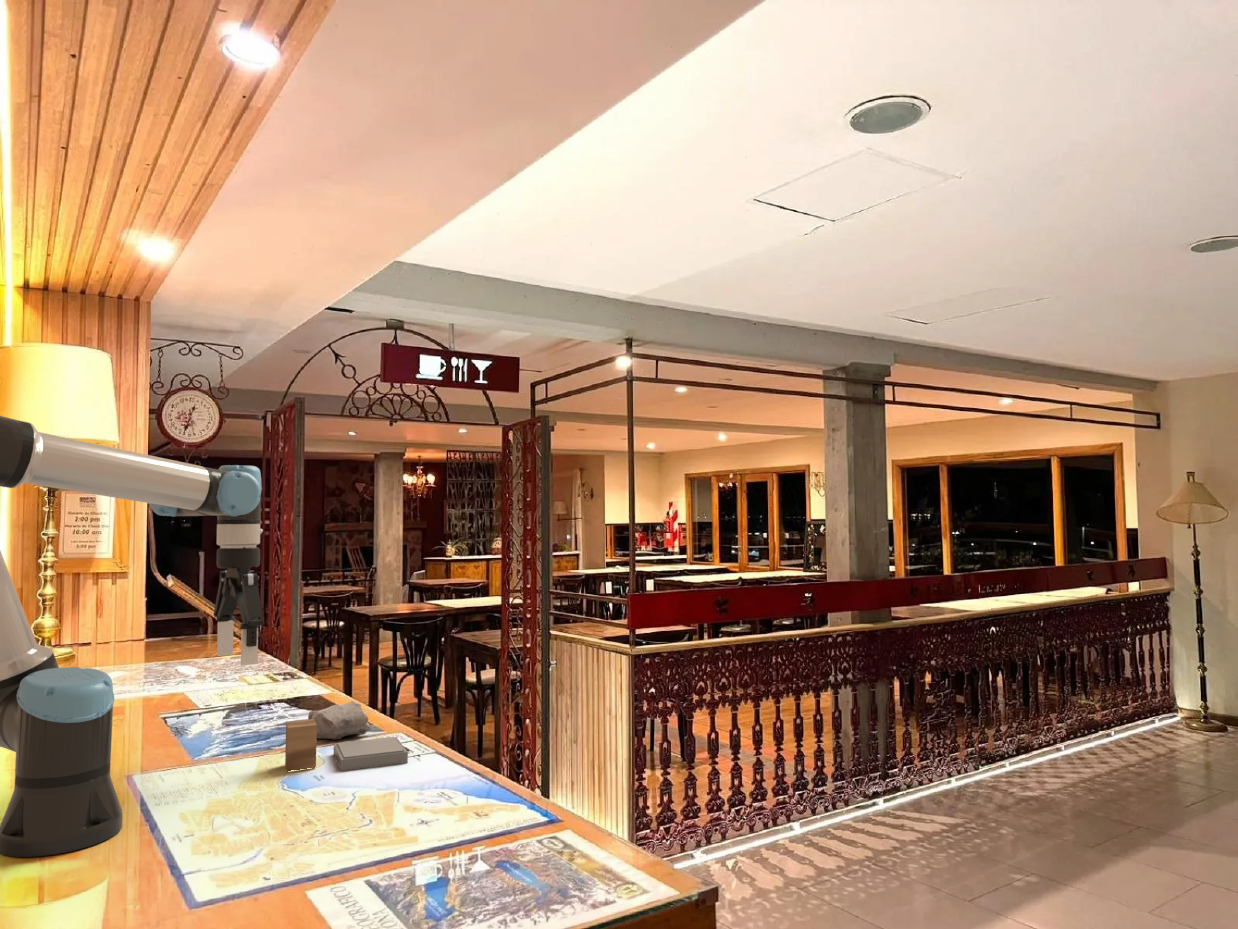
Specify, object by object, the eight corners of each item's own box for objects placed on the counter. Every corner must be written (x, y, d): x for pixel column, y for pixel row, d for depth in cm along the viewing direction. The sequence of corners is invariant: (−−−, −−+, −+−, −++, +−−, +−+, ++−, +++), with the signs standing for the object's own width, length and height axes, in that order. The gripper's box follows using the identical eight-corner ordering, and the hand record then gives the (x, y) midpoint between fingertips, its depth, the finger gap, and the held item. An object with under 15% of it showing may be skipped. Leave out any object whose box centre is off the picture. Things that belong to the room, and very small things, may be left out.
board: (407, 763, 158) (407, 750, 158) (340, 771, 153) (341, 758, 153) (396, 747, 169) (396, 735, 169) (333, 754, 164) (333, 742, 164)
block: (315, 769, 155) (316, 724, 155) (286, 772, 152) (287, 727, 153) (313, 762, 159) (314, 719, 160) (285, 765, 157) (286, 721, 157)
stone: (304, 738, 177) (305, 704, 177) (361, 729, 184) (361, 697, 184) (316, 746, 170) (316, 712, 170) (373, 737, 177) (374, 704, 177)
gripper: (283, 547, 153) (281, 665, 152) (237, 544, 171) (235, 649, 170) (240, 549, 148) (238, 671, 147) (197, 545, 166) (195, 654, 165)
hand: (236, 660), depth 158 cm, fingers open, 13 cm apart
